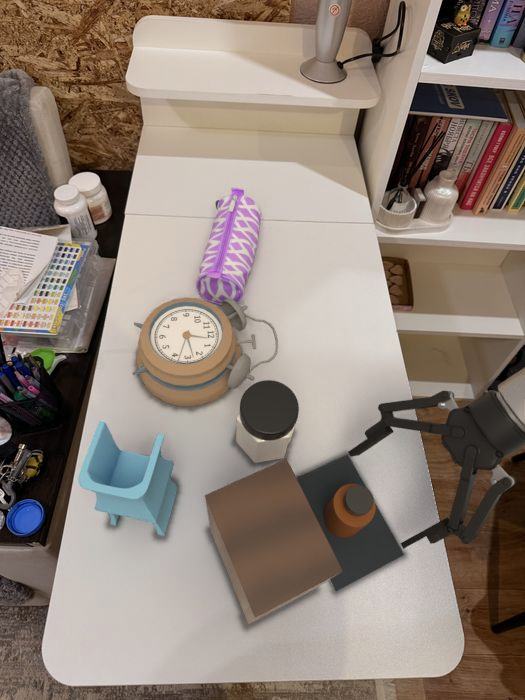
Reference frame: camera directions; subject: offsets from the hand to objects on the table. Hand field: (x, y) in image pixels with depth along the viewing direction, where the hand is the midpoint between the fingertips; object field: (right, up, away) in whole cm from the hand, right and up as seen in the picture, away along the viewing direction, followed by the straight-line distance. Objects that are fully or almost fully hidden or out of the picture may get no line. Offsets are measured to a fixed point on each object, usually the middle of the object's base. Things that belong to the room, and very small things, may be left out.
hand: (378, 497), depth 71 cm
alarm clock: (-25, +19, +16) cm, 35 cm away
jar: (-16, +7, +10) cm, 20 cm away
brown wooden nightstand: (-16, -9, 0) cm, 18 cm away
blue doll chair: (-33, -2, +4) cm, 33 cm away
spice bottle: (-4, -4, +3) cm, 7 cm away
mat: (-4, -4, +4) cm, 7 cm away
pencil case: (-22, +37, +26) cm, 50 cm away
